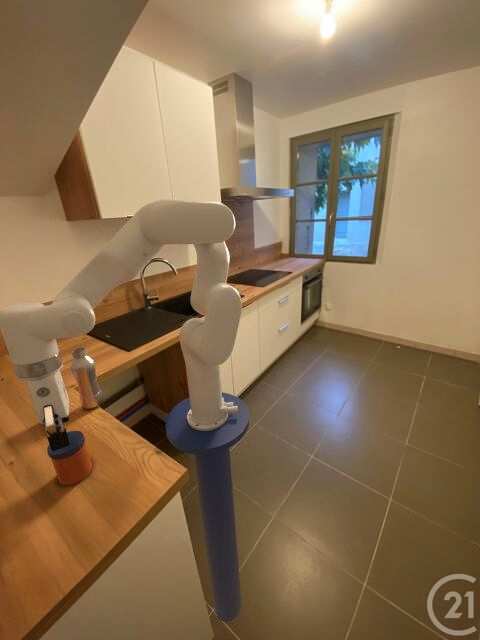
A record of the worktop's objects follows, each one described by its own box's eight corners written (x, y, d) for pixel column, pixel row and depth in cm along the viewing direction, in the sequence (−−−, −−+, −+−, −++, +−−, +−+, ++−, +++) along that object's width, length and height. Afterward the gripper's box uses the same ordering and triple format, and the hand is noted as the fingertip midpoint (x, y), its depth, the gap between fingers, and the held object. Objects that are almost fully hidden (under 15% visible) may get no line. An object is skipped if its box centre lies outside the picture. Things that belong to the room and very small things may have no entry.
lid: (90, 433, 63) (89, 429, 62) (75, 458, 56) (73, 453, 56) (60, 436, 62) (59, 431, 62) (41, 461, 56) (39, 456, 55)
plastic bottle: (80, 405, 86) (64, 350, 80) (102, 396, 90) (88, 343, 84) (84, 414, 82) (67, 357, 75) (107, 405, 86) (93, 349, 79)
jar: (97, 459, 65) (89, 431, 62) (83, 484, 59) (73, 454, 56) (69, 461, 65) (59, 433, 62) (52, 486, 58) (40, 456, 56)
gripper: (61, 377, 47) (83, 452, 53) (61, 345, 61) (78, 407, 67) (8, 391, 43) (37, 470, 49) (20, 354, 57) (42, 419, 63)
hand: (61, 434), depth 58 cm, fingers open, 8 cm apart
